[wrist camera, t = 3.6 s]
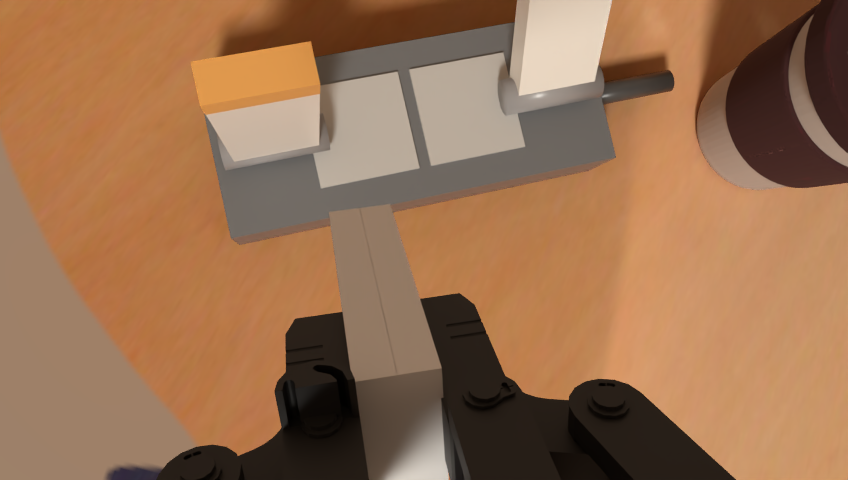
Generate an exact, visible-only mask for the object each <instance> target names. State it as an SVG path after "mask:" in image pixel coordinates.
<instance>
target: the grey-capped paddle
mask: <svg viewBox="0 0 848 480" xmlns="http://www.w3.org/2000/svg"><path fill="white" fill-rule="evenodd" d="M611 3H612V0H517V6H516V16H515V26H514V36H513V46H512V56H511V66H510V76H509V78H507V79H501V80H499V82H498V98H499V102H500V107H501V110H502V112H503V113H504V115H506V116H507V115H512V114H517V113H522V112H528V111H533V110H538V109H543V108H548V107H553V106H558V105H563V104H568V103H573V102H579V101H584V100H589V99H594V98H599V97H601V96H602V94H603V91H604V77H603V72H602V70H601V67H600V66H599V59H600V54H601V50H602V45H603V40H604V36H605V31H606V26H607V22H608V17H609V12H610V8H611Z"/></svg>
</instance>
